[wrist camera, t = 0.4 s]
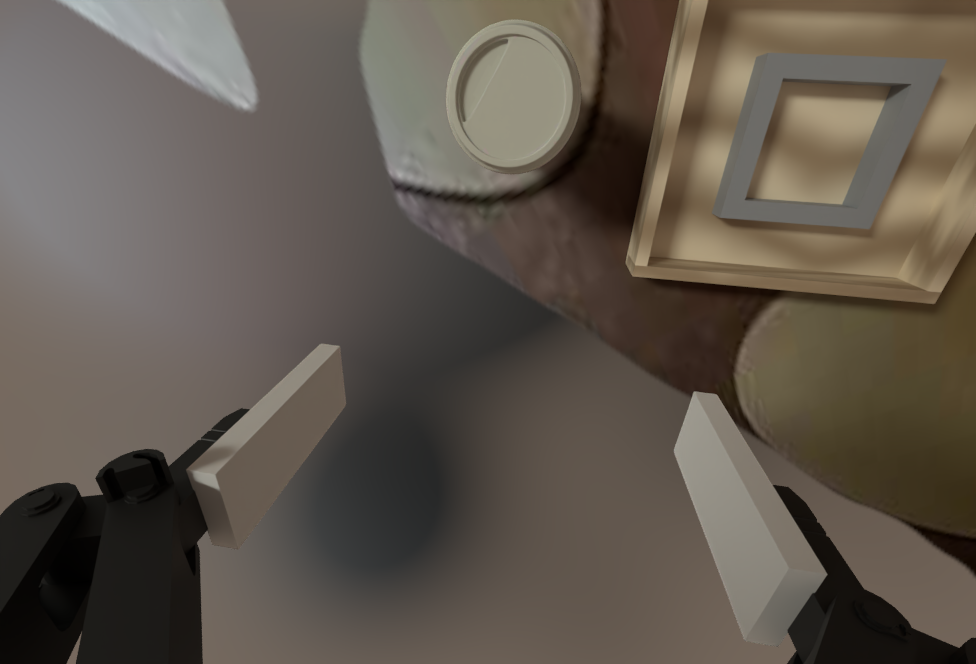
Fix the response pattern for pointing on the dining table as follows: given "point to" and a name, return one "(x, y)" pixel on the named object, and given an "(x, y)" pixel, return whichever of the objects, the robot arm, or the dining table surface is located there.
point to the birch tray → (810, 151)
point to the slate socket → (879, 159)
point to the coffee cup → (513, 96)
